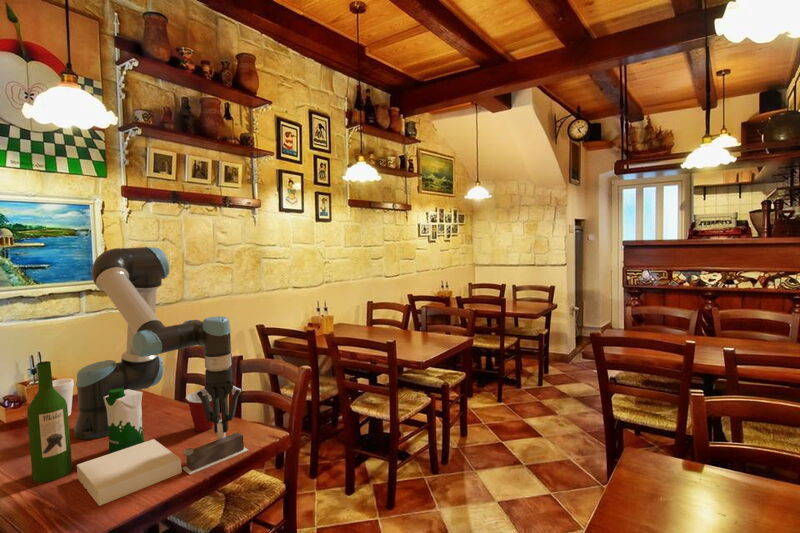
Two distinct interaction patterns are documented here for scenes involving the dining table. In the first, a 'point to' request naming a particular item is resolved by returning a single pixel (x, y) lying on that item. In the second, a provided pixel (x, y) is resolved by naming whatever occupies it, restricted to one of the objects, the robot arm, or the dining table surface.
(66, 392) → the foam cup
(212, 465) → the mat
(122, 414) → the milk carton
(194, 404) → the plastic cup
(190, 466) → the dark grey block
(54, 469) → the wine bottle
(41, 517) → the dining table surface
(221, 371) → the robot arm
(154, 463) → the cream flat square box
